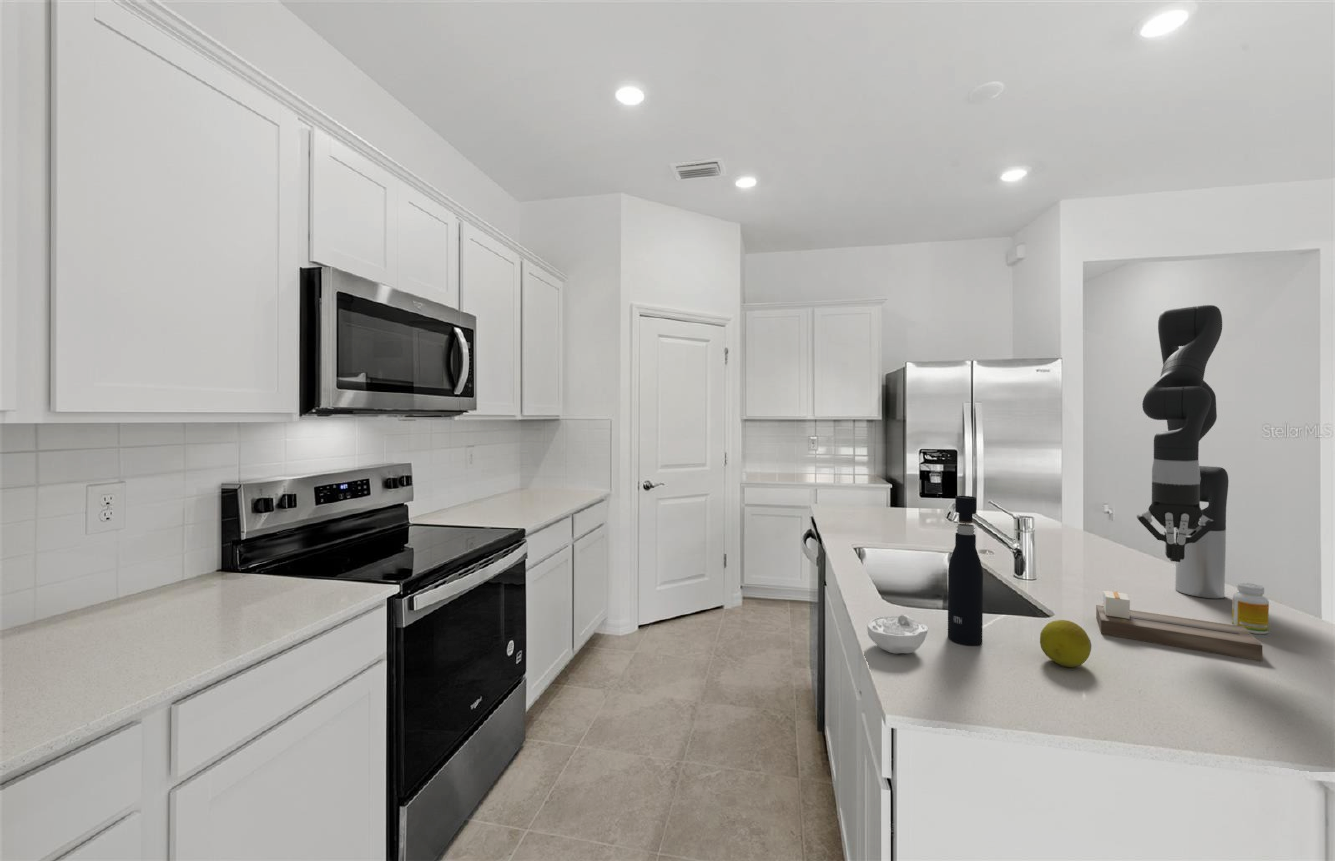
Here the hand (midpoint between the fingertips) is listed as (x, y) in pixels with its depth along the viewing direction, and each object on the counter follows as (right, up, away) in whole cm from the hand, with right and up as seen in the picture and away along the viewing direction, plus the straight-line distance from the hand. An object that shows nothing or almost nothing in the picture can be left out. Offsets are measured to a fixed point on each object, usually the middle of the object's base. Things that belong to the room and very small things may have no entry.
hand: (1174, 560), depth 117 cm
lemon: (-34, -16, -14) cm, 40 cm away
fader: (-11, -12, +2) cm, 17 cm away
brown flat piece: (-3, -16, -3) cm, 16 cm away
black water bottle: (-47, -16, -3) cm, 49 cm away
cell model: (-63, -16, -7) cm, 65 cm away
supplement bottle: (+18, -16, +1) cm, 23 cm away
